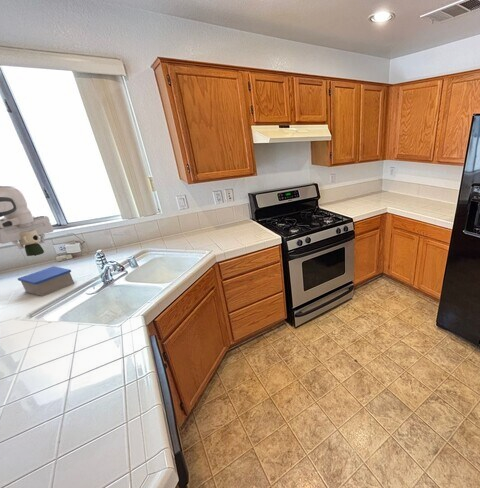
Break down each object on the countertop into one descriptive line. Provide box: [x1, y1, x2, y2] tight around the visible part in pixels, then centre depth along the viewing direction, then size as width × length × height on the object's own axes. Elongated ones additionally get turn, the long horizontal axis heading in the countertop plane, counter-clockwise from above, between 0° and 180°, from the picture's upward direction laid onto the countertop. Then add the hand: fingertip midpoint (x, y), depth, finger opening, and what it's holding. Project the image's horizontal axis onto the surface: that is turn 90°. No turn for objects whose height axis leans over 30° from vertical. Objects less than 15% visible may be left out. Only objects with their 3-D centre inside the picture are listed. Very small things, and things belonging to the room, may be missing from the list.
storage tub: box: [17, 266, 75, 297], centre depth 140 cm, size 15×15×8 cm
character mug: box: [18, 230, 45, 257], centre depth 132 cm, size 11×7×13 cm, turn 34°
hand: (31, 245), depth 132 cm, fingers closed on character mug, 6 cm apart
